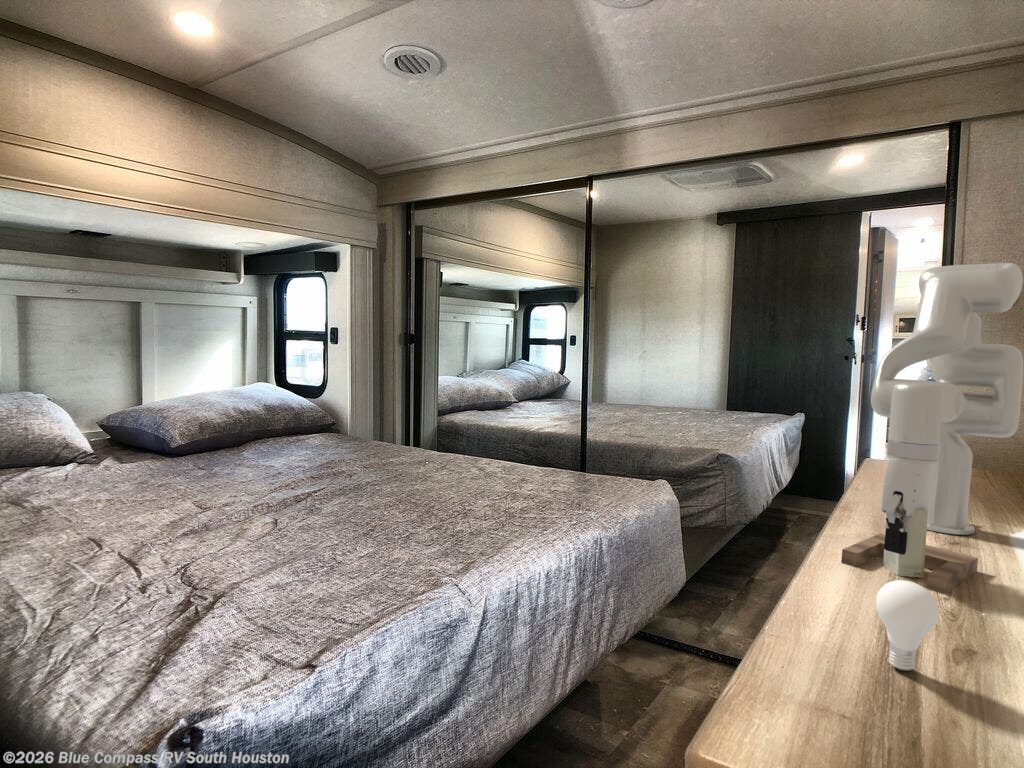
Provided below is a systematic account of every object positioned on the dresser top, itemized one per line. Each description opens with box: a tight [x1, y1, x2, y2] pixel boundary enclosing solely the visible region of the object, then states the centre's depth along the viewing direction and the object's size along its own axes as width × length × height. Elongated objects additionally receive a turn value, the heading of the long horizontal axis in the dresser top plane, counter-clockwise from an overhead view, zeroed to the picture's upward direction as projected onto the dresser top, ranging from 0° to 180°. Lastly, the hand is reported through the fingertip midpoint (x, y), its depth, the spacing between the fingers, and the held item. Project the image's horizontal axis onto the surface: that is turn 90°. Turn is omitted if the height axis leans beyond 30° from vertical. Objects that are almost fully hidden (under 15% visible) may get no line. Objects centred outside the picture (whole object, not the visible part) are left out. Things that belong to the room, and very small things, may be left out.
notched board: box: [840, 532, 979, 594], centre depth 106 cm, size 18×16×2 cm
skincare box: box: [882, 508, 928, 579], centre depth 104 cm, size 6×4×12 cm
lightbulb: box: [875, 579, 940, 672], centre depth 70 cm, size 6×6×11 cm
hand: (903, 547), depth 104 cm, fingers open, 7 cm apart
